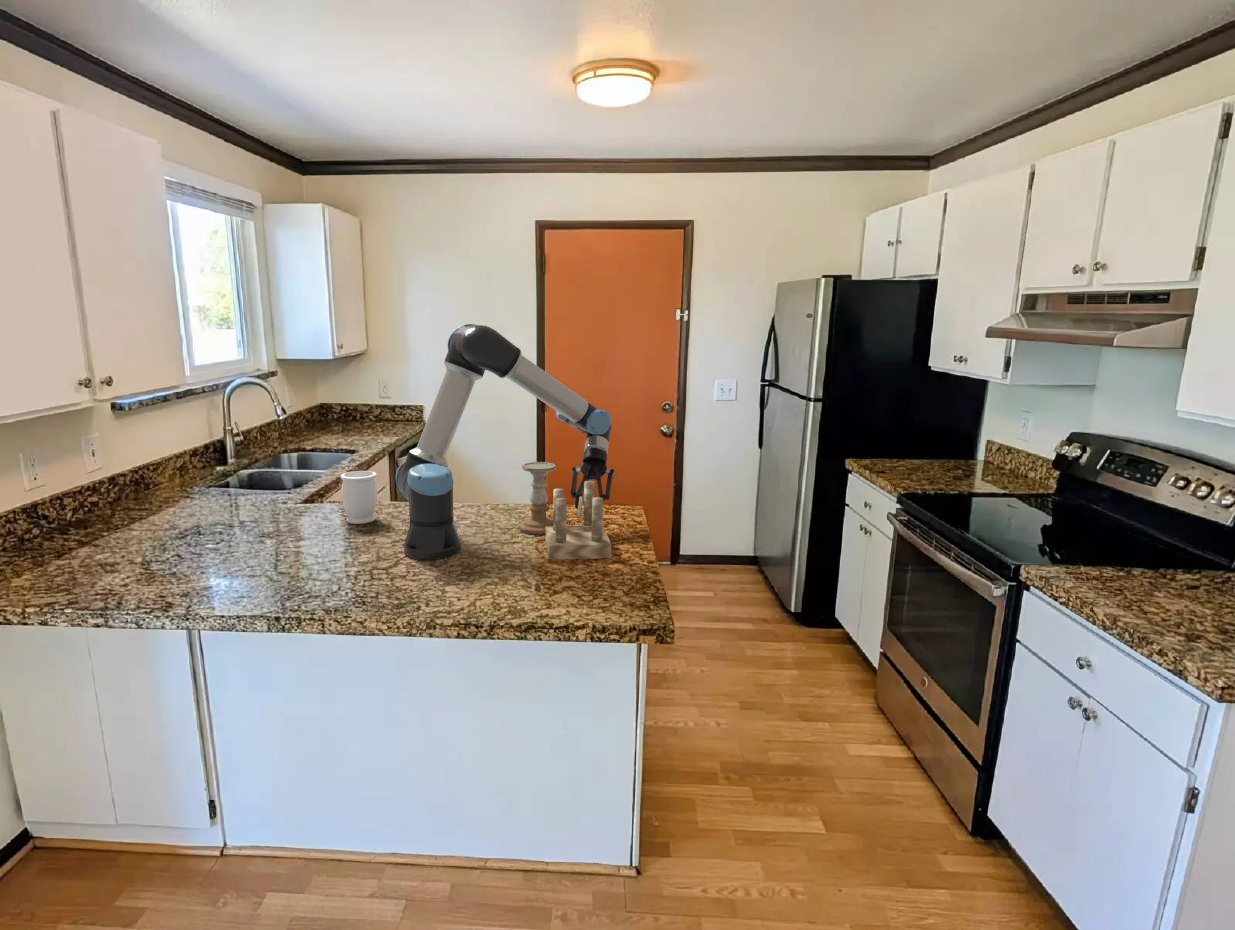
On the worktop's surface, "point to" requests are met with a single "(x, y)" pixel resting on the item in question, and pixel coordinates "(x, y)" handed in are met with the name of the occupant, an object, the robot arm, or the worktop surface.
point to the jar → (359, 496)
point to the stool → (576, 533)
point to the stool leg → (588, 501)
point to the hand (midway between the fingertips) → (587, 517)
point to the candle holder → (537, 498)
